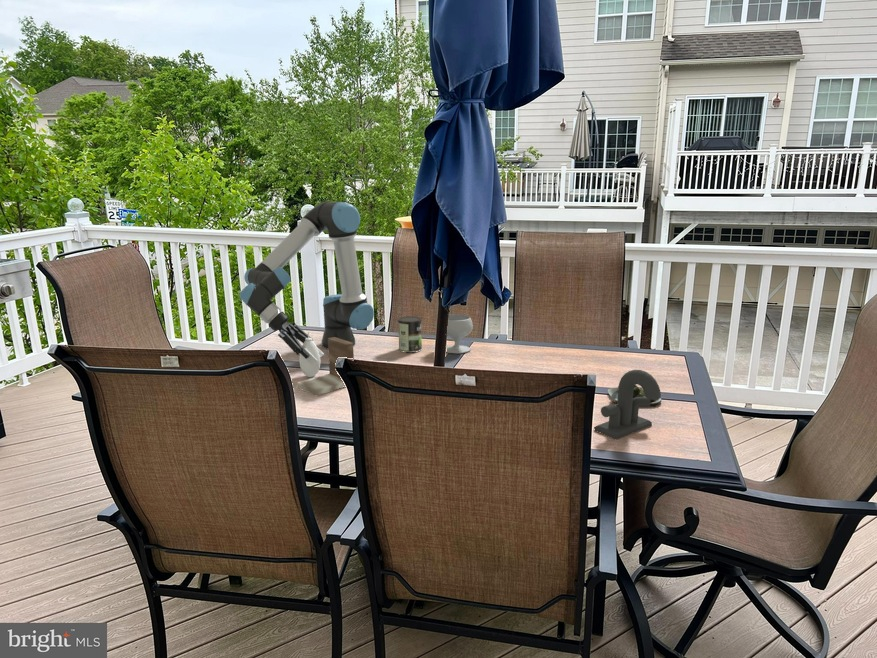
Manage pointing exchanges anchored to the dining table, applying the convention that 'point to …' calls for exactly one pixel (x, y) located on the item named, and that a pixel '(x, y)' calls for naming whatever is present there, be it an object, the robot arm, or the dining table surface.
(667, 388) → the dining table surface
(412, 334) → the coffee can
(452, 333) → the chalice
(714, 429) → the dining table surface
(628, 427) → the faucet
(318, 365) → the sauce bottle
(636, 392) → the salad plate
